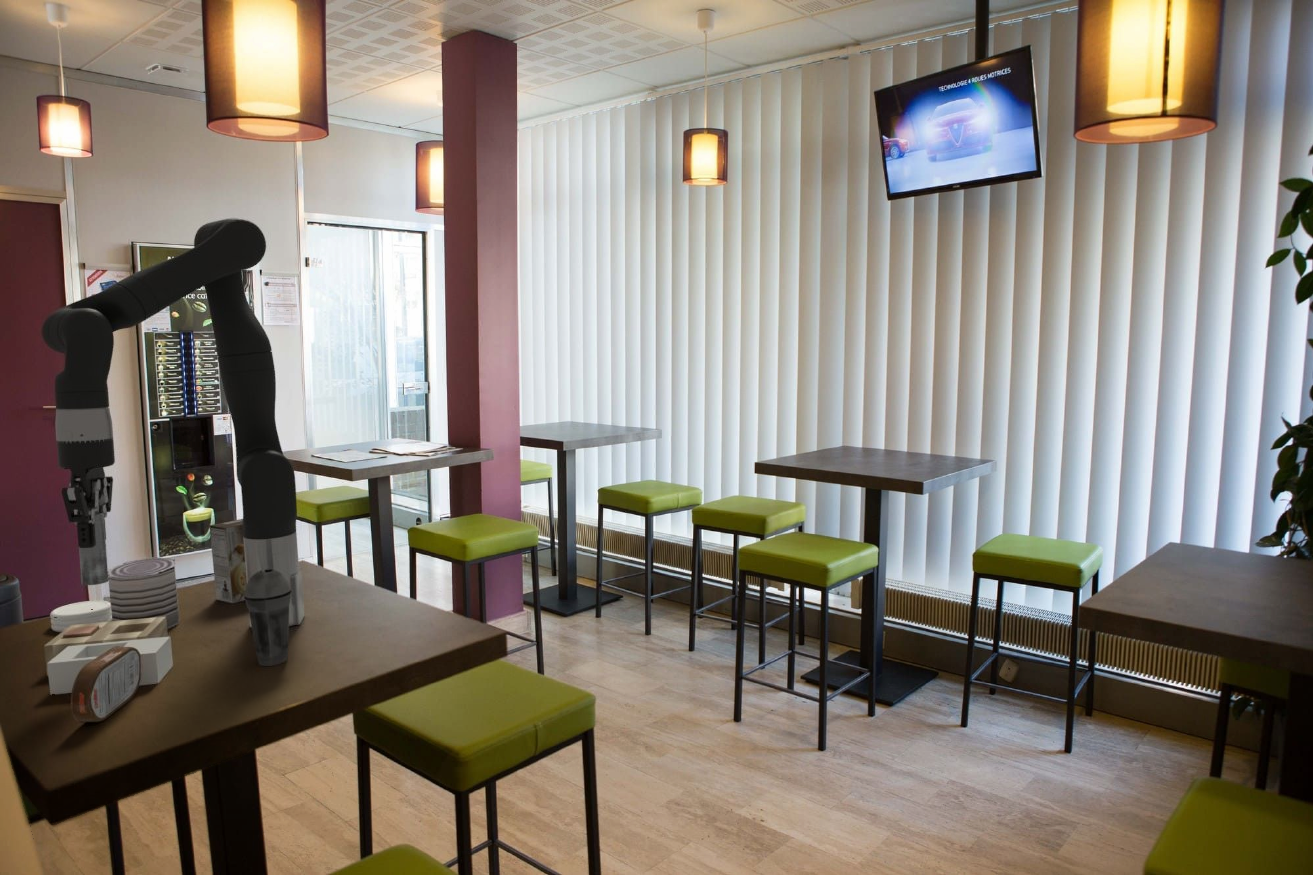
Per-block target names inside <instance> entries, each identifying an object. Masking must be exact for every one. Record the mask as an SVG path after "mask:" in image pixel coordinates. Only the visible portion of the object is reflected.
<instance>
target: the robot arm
mask: <svg viewBox="0 0 1313 875" xmlns="http://www.w3.org/2000/svg"><path fill="white" fill-rule="evenodd" d="M193 246H194V247H192V248H190V249H189V250H187V251H185V252H183V253H181V254H178V255H176V256H174V257H170V258H168V259H166V260H163V261H160V262H158V263H155V264H153V265H150V266H147V267H145V268H143V269H140V270H138V271H136V272H134V273H132V274H131V275H129V276H126V277H124V278H123V279H121V280H119V281H117V282H115V283H113V284H112V285H110V286H108V287H106V288H105V289H104V290H102V291H100V292H97V293H95V294H92V295H90V296H87V297H84V298H82V299H79V300H77V301H74V302H72V303H70V304H66V305H65V306H62V307H61V308H58V309H56V310H55V311H53V312H52V313H51V314H49V315H48V316H47V317H46V318H45V320H44V321H43V323H42V326H41V337H42V339H43V342H44V343H45V344H46V345H47V347H49V348H50V349H51V350H53V351H55V352H57V353H60V354H63V355H65V361H64V369H62V371H60V372H59V373H57V374H56V376H55V378H54V398H55V399H54V400H55V425H54V426H55V439H56V450H57V451H56V452H57V463H58V464H57V465H58V467H59V468H60V469H62V470H69V471H70V480H69V487H62V489H61V496H62V500H63V503H64V507H65V511H66V515H67V518H68V522H69V523H70V524H71V523H72V524H73V523H74V525H76V530H77V543H78V544H77V545H78V548H79V547H80V548H92V547H94V546H95V545H96V538H95V524H94V521H95V519H94V516H95V509H96V508H98V504H99V512H102V513H104V525H105V526H106V518H107V517H108V513H110V512H112V511H111V510H112V500H113V499H112V498H113V486H114V485H113V484H114V478H113V476H112V475H111V476H107V475H106V473H105V470H104V468H107V467H111V466H113V465H114V464H115V462H116V456H115V445H114V444H115V442H114V430H113V419H112V416H111V410H110V399H109V388H108V379H109V374H110V370H111V365H112V360H113V352H114V346H115V339H114V338H115V337H114V333H115V332H116V331H119V330H126V329H130V328H132V327H135V326H138V325H140V324H141V323H143V322H144V321H146V320H148V319H149V318H152V317H153V316H155V315H157V314H158V313H160V312H161V311H163V310H165V309H166V308H168V307H169V306H171V305H173V304H175V303H176V302H178V301H180V300H182V299H183V298H185V297H187V296H188V295H190V294H192V293H193V292H195V291H197V290H199V289H200V288H203V287H204V290H205V294H206V298H207V299H206V300H207V302H208V308H209V314H210V318H211V320H210V321H211V324H212V330H213V337H214V342H215V348H216V356H217V362H218V367H219V373H220V378H221V382H222V387H223V392H224V397H225V400H226V403H227V407H228V411H229V413H230V417H231V420H232V424H233V429H234V442H235V457H236V458H235V459H236V460H235V462H236V463H235V464H236V478H237V482H238V483H239V486H240V489H241V502H242V504H241V505H242V519H243V523H242V529H243V540H244V553H245V566H246V579H247V583H248V581H249V579H250V578H251V577H252V576H253V575H254V574H256V573H257V572H259V571H261V566H260V560H259V554H258V548H257V546H258V545H261V551H262V557H263V562H264V568H265V570H266V569H273V570H276V571H279V572H280V573H282V574H283V575H284V576H285V577H286V578H287V580H288V582H289V585H290V588H291V591H292V592H291V599H290V604H289V627H292V626H298V625H301V623H302V622H303V619H304V618H305V603H304V601H305V600H304V590H303V589H304V588H303V575H302V574H303V573H302V568H301V567H300V565H299V564H300V563H299V550H298V537H297V535H298V534H297V520H298V519H297V518H298V507H297V487H296V475H295V474H296V473H295V469H294V467H293V464H292V463H291V461H290V460H289V459H288V458H287V457H286V456H285V455H284V453H283V448H282V445H281V442H280V438H279V434H278V429H277V423H276V401H277V400H276V399H277V398H276V397H277V395H276V393H277V392H276V390H277V386H276V385H277V384H276V382H277V380H276V369H275V362H274V356H273V350H272V349H273V348H272V345H271V342H270V338H269V337H268V335H267V333H266V331H265V329H264V327H263V325H262V324H261V322H260V321H259V319H258V318H257V316H256V314H255V313H254V312H253V310H252V308H251V306H250V304H249V302H248V299H247V296H246V292H245V287H244V280H243V271H244V270H245V271H246V270H249V269H251V268H253V267H255V266H256V265H259V263H260V262H261V261H262V260H263V258H264V257H265V254H266V250H267V241H266V237H265V234H264V233H263V231H262V230H261V228H260V227H259V226H258V225H257V224H256V223H254V222H253V221H250V220H249V219H245V218H241V217H229V218H225V219H223V218H222V219H220V220H215V221H211V222H207V223H205V224H202V225H201V226H200V227H199V228H198V229H197V231H196V233H195V235H194V240H193ZM86 502H91V503H89V504H86ZM81 513H82V514H81ZM105 540H107V532H106V528H105ZM248 618H249V627H250V628H251V629H252V626H251V620H250V614H249V613H248Z"/></svg>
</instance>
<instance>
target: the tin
mask: <svg viewBox="0 0 1313 875" xmlns="http://www.w3.org/2000/svg"><path fill="white" fill-rule="evenodd" d="M140 679H141V655H140V653H139V651H138V650H137V649H136V648H134V647H120V646H114V647H112V648H111V649H109V650H108V651H106V652H104V653H103V654H101V655H100V656H98V657H97V658H95V659H93V660H92V661H90V662H88V663H87V664H85V665H84V666H83V667H82V669H81V670H80V671H79V673H78V675H77V677H76V679H75V681H74V684H73V688H72V693H70V710H71V713H72V717H73V718H74V720H75V721H76V722H78V723H79V724H80V723H84V724H85V723H99V722H103V721H104V720H107V718H109V717H110V716H111V715H112V714H114V713H115V712H116V711H118V710H119V709H120V708H122V707H123V706H124V705H126V703H129V701H131V699H133V697H134V696H135V695H136V693H137V691H138V689H139V686H140V685H139V683H140Z"/></svg>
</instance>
